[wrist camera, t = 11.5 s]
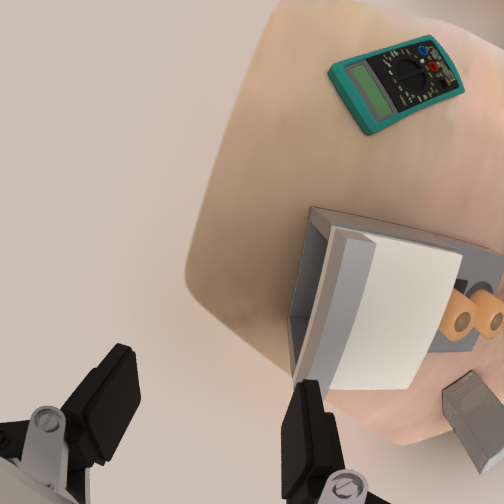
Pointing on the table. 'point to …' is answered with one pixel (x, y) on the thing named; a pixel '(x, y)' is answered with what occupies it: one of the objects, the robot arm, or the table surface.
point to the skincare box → (476, 420)
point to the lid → (374, 311)
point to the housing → (474, 257)
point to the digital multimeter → (395, 82)
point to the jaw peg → (458, 316)
